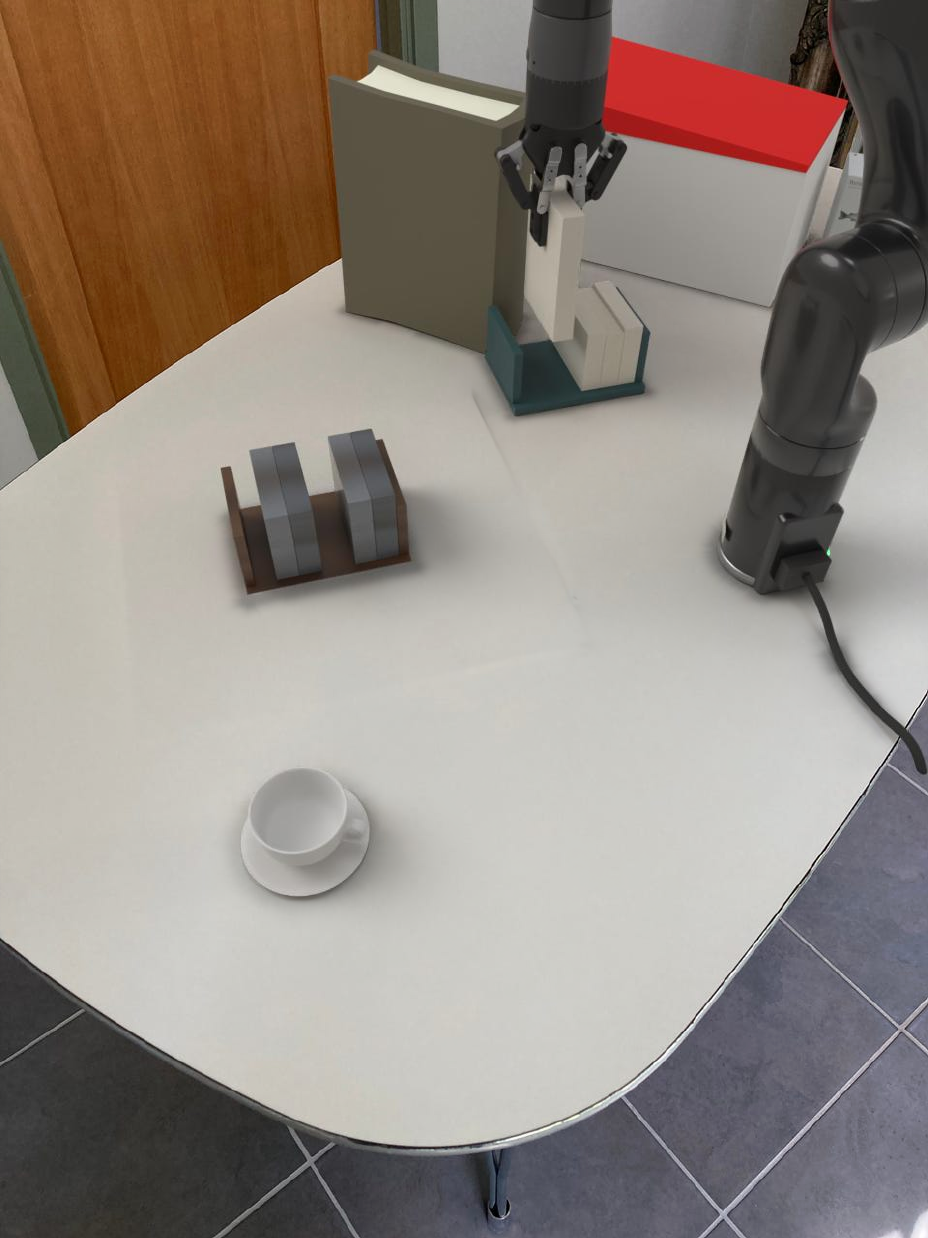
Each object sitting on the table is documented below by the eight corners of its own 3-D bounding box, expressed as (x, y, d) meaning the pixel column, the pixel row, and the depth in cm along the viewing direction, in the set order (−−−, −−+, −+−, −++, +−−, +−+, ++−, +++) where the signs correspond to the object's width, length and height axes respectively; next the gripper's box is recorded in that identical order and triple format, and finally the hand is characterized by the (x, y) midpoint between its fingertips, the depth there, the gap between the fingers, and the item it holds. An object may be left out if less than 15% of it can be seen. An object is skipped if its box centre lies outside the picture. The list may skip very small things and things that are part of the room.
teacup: (223, 886, 72) (211, 858, 68) (265, 774, 78) (255, 742, 75) (352, 909, 71) (346, 881, 67) (383, 793, 77) (379, 762, 74)
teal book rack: (644, 392, 112) (655, 329, 106) (514, 416, 109) (517, 352, 103) (606, 336, 119) (615, 274, 113) (484, 357, 117) (485, 293, 110)
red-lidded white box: (580, 183, 146) (594, 31, 130) (808, 236, 136) (854, 78, 120) (523, 244, 134) (532, 85, 118) (769, 307, 124) (814, 142, 108)
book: (527, 324, 122) (548, 91, 101) (494, 361, 117) (509, 124, 95) (383, 277, 128) (373, 49, 107) (345, 311, 123) (328, 77, 102)
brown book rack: (412, 568, 94) (408, 499, 87) (248, 601, 91) (231, 533, 84) (385, 488, 101) (379, 420, 94) (233, 517, 98) (215, 448, 91)
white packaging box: (817, 266, 130) (845, 173, 121) (820, 240, 135) (848, 149, 125) (873, 275, 129) (906, 182, 119) (874, 248, 134) (906, 156, 124)
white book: (572, 339, 105) (585, 215, 94) (552, 342, 104) (562, 218, 94) (543, 291, 111) (551, 170, 100) (523, 294, 110) (530, 173, 100)
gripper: (508, 85, 84) (501, 268, 97) (654, 68, 86) (628, 249, 100) (483, 54, 89) (480, 232, 102) (623, 39, 91) (602, 215, 104)
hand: (554, 240), depth 101 cm, fingers closed on white book, 2 cm apart
